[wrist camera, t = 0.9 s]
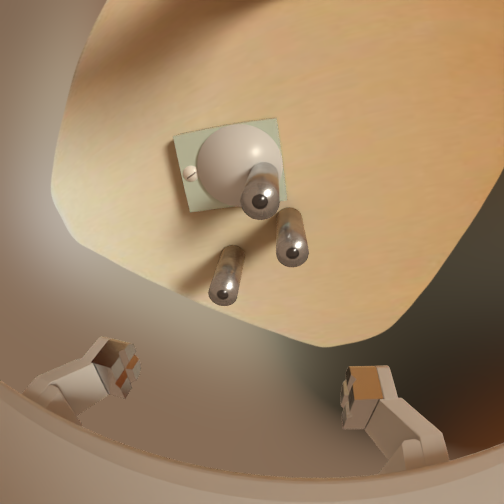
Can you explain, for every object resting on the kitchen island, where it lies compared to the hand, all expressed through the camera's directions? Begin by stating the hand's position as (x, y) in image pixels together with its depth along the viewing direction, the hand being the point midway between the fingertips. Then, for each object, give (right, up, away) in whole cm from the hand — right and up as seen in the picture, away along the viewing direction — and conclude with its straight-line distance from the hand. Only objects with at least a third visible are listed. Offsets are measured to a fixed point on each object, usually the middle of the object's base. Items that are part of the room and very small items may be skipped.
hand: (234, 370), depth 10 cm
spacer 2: (+2, +16, +33) cm, 37 cm away
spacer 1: (-3, +4, +44) cm, 44 cm away
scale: (-2, +19, +36) cm, 40 cm away
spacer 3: (+7, +10, +40) cm, 42 cm away
